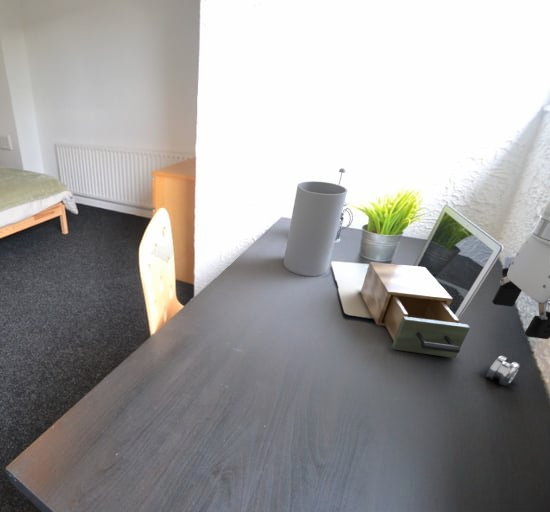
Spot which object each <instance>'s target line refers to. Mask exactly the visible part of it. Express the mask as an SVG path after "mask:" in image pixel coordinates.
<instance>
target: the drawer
mask: <svg viewBox="0 0 550 512" xmlns="http://www.w3.org/2000/svg"><path fill="white" fill-rule="evenodd" d="M382 320H383V322H384V324H385V325H386V326H385V327H386V329H387V331H388V333H389V335H390V337H391V338H392V341H393V342H392V344H391V347H392V348H393V350H396V351H397V350H398V351H402V352H403V351H404V352H412V353H418V354H425V355H430V356H439V357H445V358H451V359H452V358H453V359H456V357H457V355H458V354H459V353H460V351H461V347H462V345H463V343H464V342H465V339H466V337H467V335H468V333H469V331H470V329H471V327H470V325H468V324H467V323H460V319H459V318H458V317H457V316H456V314H454V312H453V311H452V310H451V309H450V307H449V308H448V306H447V305H446V304H445V303H444V302H443V301H440V300H431V299H423V298H414V297H405V296H396V295H391V297H390V299H389V302H388V305H387V308H386V311H385V314H384V316H383V319H382Z"/></svg>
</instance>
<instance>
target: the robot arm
mask: <svg viewBox="0 0 550 512" xmlns="http://www.w3.org/2000/svg"><path fill="white" fill-rule="evenodd" d="M501 275H502V278H500V279H499V284H500V285H499V288H498V289H497V292H496V293H495V295H494V297H493V299H492V301H491V302H492V304H493V305H495V306H504V307H514V306H515V303H516V302H517V300H518V298H519V297H520V295H521V293H522V292H523V293H524V294H526V295H527V296H528V297H529V298H531V300H533V301H535V302H536V303H538V304H537V305H538V315H534V316H533V317H532V319H531V321H530V323H529V325H528V326H527V328H526V330H525V331H524V336H526V337H528V338H534V339H542V340H549V339H550V307H549V306H550V197H549V198H548V200H547V202H546V203H545V206H544V208H543V210H542V212H541V214H540V215H539V217H538V219H537V222H536V223H535V225H534V227H533V229H532V231H531V232H530V234H529V235H528V237H526V239H525V241H523V242H522V245H521V246H520V247H519V249H518V251H517V253H516V254H515V255H514V256H507V257H505V258H504V264H503V269H502V270H501Z"/></svg>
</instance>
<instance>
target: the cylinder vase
mask: <svg viewBox="0 0 550 512" xmlns="http://www.w3.org/2000/svg"><path fill="white" fill-rule="evenodd" d="M347 194H348V189H347V188H346V187H345V186H343V185H340V184H337V183H332V182H326V181H316V180H315V181H313V180H311V181H302V182H300V183H298V184H297V188H296V192H295V197H294V203H293V208H292V214H291V219H290V224H289V230H288V235H287V240H286V246H285V251H284V257H283V266H284V267H285V268H286V270H288V271H290V272H291V273H294V274H296V275H298V276H302V277H303V276H304V277H320V276H323V275H324V274H326V273H327V272H328V270H329V265H330V261H331V257H332V253H333V249H334V245H335V243H334V242H335V238H336V234H337V230H338V226H339V222H340V221H341V219H340V218H341V214H342V213H343V210H344V207H345V206H344V202H345V200H346V197H347Z"/></svg>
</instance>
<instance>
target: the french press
mask: <svg viewBox="0 0 550 512" xmlns="http://www.w3.org/2000/svg"><path fill="white" fill-rule="evenodd" d="M338 172H339V173H340V177H339V182H338V185H340V184H341V181H342V176H343V174H345V173H346V169H345V168H343V167H342V168H340V169H338ZM348 204H349V201H347V200H346V199H345V202H344V206H343V207H346V206H347V205H348ZM346 212H347V213H348V216H349V222H348V224H347V225H346V226H344V227H343V223H344V220H345V218H344V217H343V216H344V213H346ZM353 221H354V215H353V212H352V211H351V209H350V208H349V207H346V208H343V210H342V214H341V218H340V222H339V226H338V230H337V234H336V238H335V242H334V244H336V243H340V242H341V233H342V230H345V229H347V228H349V227H350V226H351V225H352V223H353Z"/></svg>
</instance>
